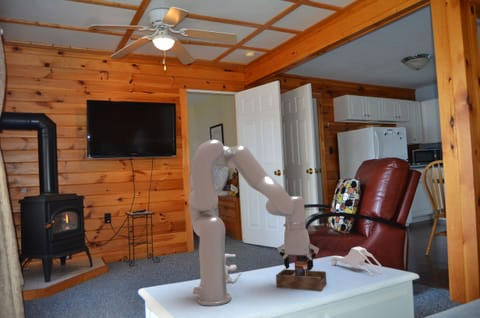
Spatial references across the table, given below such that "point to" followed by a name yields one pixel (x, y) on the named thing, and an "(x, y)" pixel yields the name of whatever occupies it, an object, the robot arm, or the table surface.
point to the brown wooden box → (301, 280)
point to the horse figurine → (356, 259)
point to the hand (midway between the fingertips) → (298, 268)
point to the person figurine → (230, 268)
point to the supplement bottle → (301, 266)
